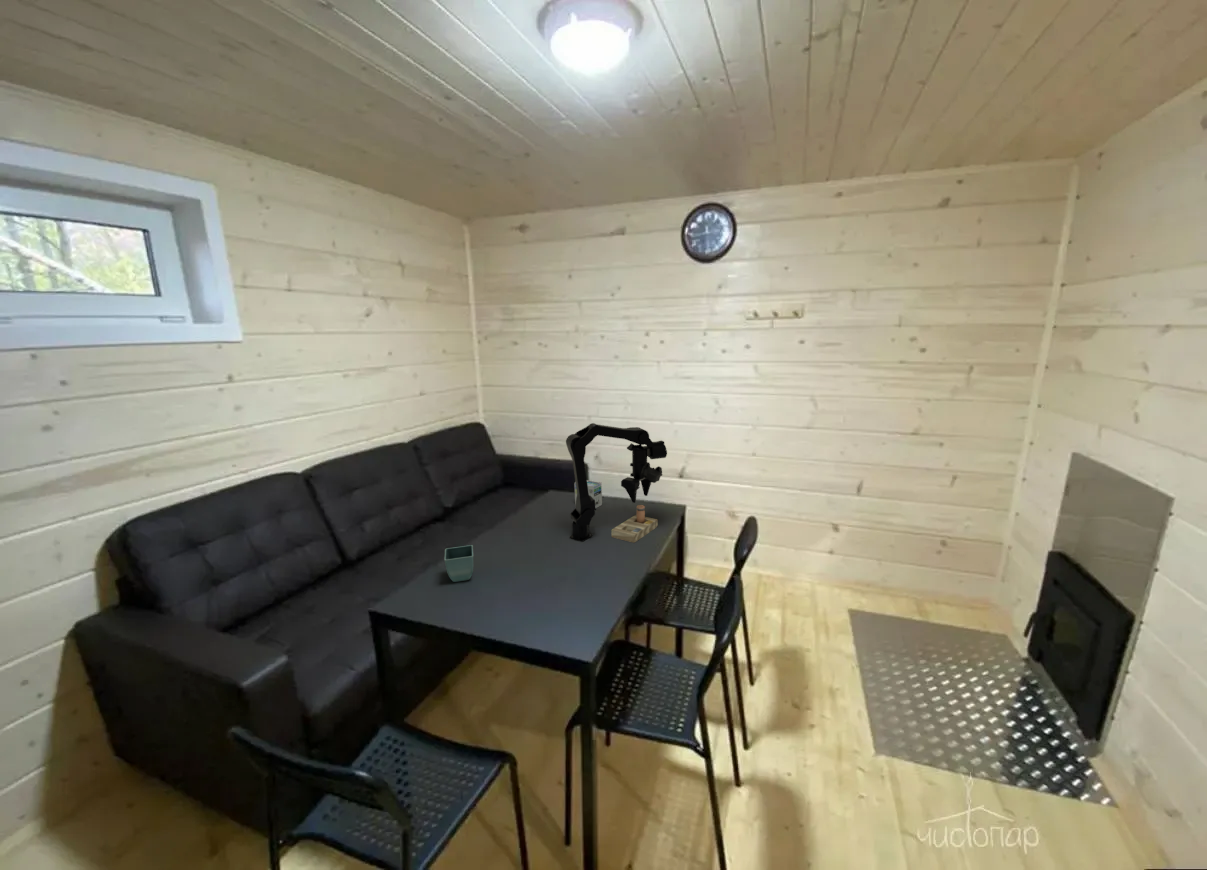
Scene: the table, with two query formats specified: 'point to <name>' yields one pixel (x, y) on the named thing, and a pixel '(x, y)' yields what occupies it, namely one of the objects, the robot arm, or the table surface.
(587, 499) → the robot arm
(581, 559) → the table surface
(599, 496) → the light bulb box
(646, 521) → the socket block
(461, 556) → the flower pot
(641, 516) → the plug
